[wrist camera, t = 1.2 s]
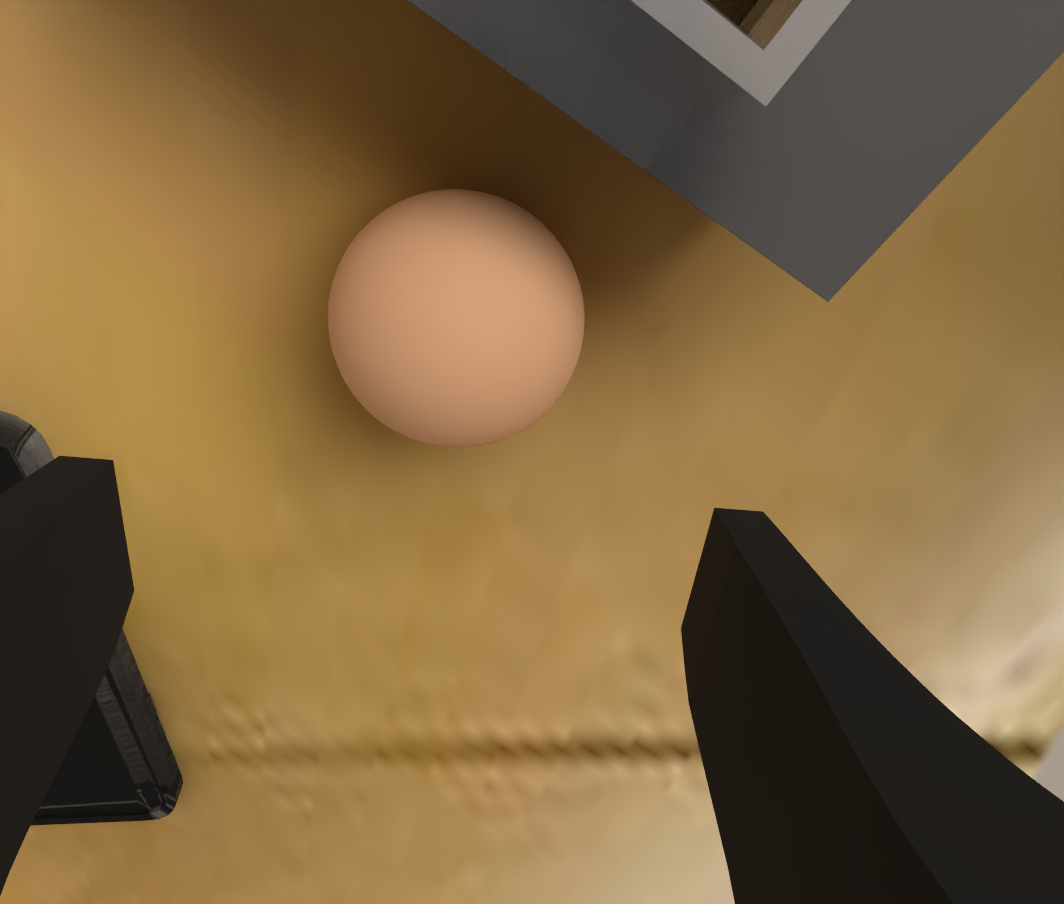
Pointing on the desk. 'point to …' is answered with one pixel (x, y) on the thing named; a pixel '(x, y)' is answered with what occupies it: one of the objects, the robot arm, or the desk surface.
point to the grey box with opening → (779, 102)
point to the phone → (100, 709)
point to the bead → (456, 318)
